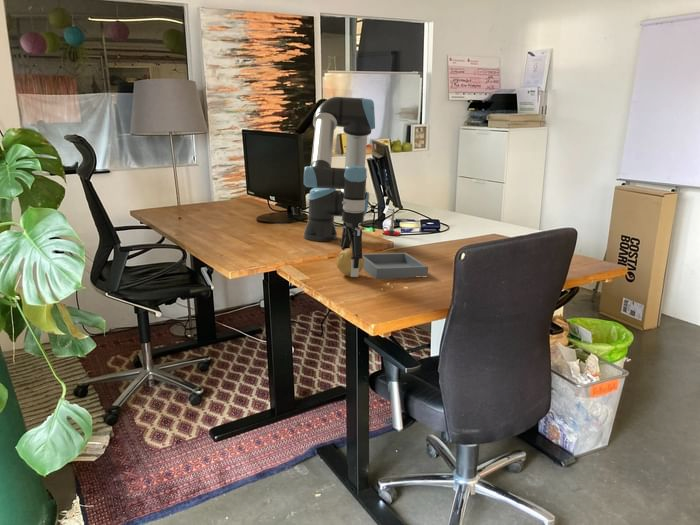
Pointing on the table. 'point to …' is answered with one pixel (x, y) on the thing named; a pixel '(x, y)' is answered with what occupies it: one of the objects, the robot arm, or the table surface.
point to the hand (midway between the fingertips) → (349, 272)
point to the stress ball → (347, 261)
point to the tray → (393, 266)
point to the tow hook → (391, 231)
